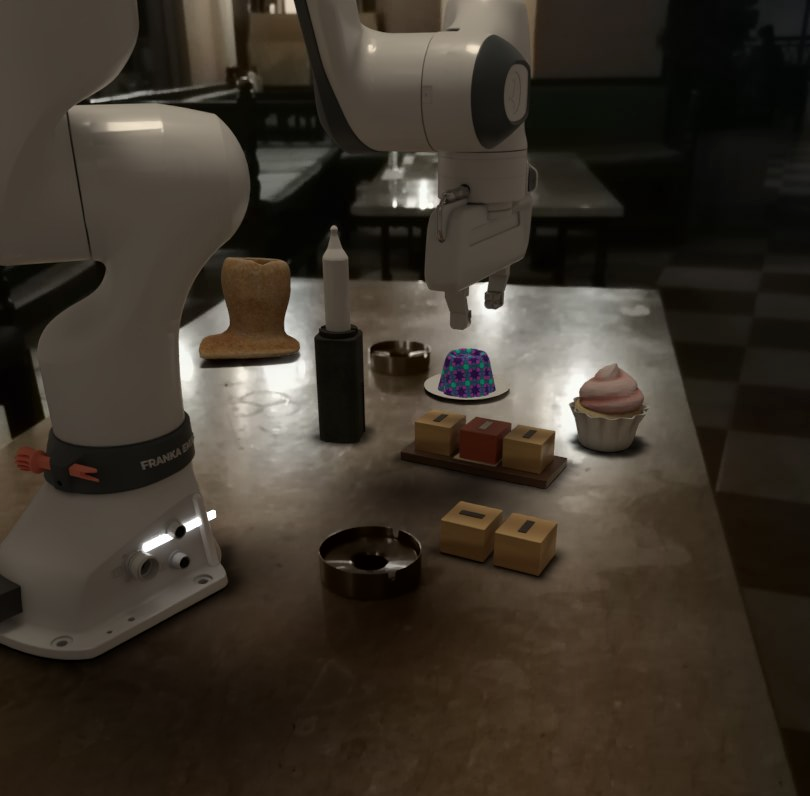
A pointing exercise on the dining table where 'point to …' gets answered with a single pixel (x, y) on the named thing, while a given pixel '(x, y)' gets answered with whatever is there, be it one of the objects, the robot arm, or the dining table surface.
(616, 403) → the cupcake
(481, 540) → the tile
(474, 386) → the pudding
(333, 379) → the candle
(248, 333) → the stone cup
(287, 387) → the dining table surface
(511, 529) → the tan wooden cube
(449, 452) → the tray with tiles
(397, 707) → the dining table surface
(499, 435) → the red cube
